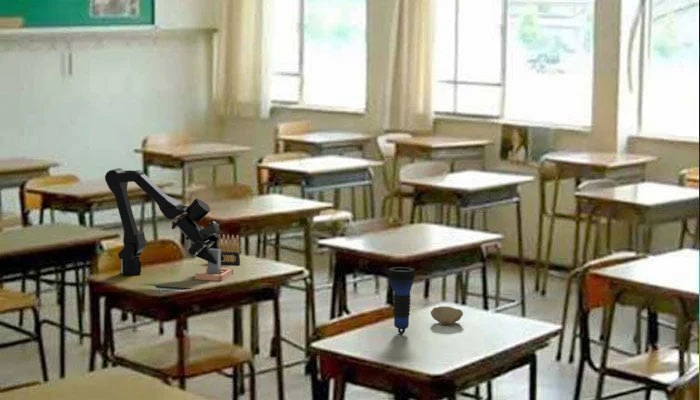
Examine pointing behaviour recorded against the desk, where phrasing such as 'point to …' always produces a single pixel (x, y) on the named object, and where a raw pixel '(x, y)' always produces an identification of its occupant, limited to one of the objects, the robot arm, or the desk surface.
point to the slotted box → (215, 275)
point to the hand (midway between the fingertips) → (220, 261)
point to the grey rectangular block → (215, 267)
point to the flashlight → (401, 295)
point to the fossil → (446, 315)
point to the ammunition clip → (226, 251)
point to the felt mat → (170, 288)
